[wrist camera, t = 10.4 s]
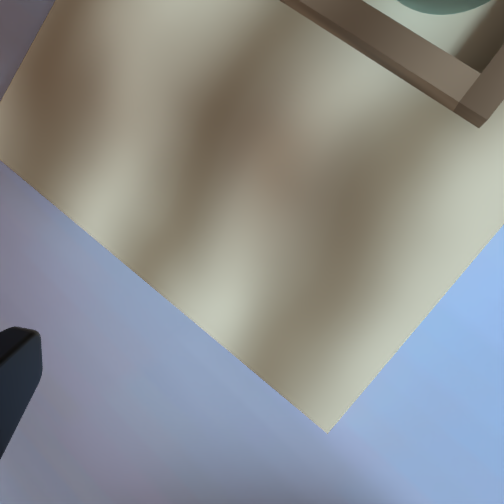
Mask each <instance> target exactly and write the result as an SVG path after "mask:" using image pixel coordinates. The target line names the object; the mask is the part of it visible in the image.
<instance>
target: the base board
mask: <svg viewBox="0 0 504 504" xmlns="http://www.w3.org/2000/svg"><path fill="white" fill-rule="evenodd" d="M0 160H1V161H2V162H3V163H4V164H6V165H7V166H8V167H9V168H10V169H12V170H13V171H14V172H15V173H16V174H18V175H19V176H20V177H21V178H22V179H23V180H25V181H26V182H27V183H28V184H29V185H31V186H32V187H33V188H34V189H35V190H37V191H38V192H39V193H40V194H41V195H43V196H44V197H45V198H46V199H47V200H49V201H50V202H51V203H52V204H53V205H55V206H56V207H57V208H58V209H59V210H61V211H62V212H63V213H64V214H65V215H67V216H68V217H69V218H70V219H71V220H73V221H74V222H75V223H76V224H77V225H78V226H80V227H81V228H82V229H83V230H84V231H86V232H87V233H88V234H89V235H90V236H92V237H93V238H94V239H95V240H96V241H98V242H99V243H100V244H101V245H102V246H104V247H105V248H106V249H107V250H108V251H110V252H111V253H112V254H113V255H114V256H116V257H117V258H118V259H119V260H120V261H122V262H123V263H124V264H125V265H126V266H128V267H129V268H130V269H131V270H132V271H133V272H135V273H136V274H137V275H138V276H139V277H141V278H142V279H143V280H144V281H145V282H147V283H148V284H149V285H150V286H151V287H153V288H154V289H155V290H156V291H157V292H159V293H160V294H161V295H162V296H163V297H165V298H166V299H167V300H168V301H169V302H171V303H172V304H173V305H174V306H175V307H177V308H178V309H179V310H180V311H181V312H183V313H184V314H185V315H186V316H187V317H188V318H190V319H191V320H192V321H193V322H194V323H196V324H197V325H198V326H199V327H200V328H202V329H203V330H204V331H205V332H206V333H208V334H209V335H210V336H211V337H212V338H214V339H215V340H216V341H217V342H218V343H220V344H221V345H222V346H223V347H224V348H226V349H227V350H228V351H229V352H230V353H232V354H233V355H234V356H235V357H236V358H238V359H239V360H240V361H241V362H242V363H243V364H245V365H246V366H247V367H248V368H249V369H251V370H252V371H253V372H254V373H255V374H257V375H258V376H259V377H260V378H261V379H263V380H264V381H265V382H266V383H267V384H269V385H270V386H271V387H272V388H273V389H275V390H276V391H277V392H278V393H279V394H281V395H282V396H283V397H284V398H285V399H287V400H288V401H289V402H290V403H291V404H293V405H294V406H295V407H296V408H297V409H298V410H300V411H301V412H302V413H303V414H304V415H306V416H307V417H308V418H309V419H310V420H312V421H313V422H314V423H315V424H316V425H318V426H319V427H320V428H321V429H322V430H324V431H325V432H326V433H327V434H328V433H329V431H330V430H331V429H332V428H333V427H334V425H335V424H336V423H337V422H338V421H339V420H340V418H341V417H342V416H343V415H344V414H345V412H346V411H347V410H348V409H349V408H350V406H351V405H352V404H353V403H354V402H355V401H356V399H357V398H358V397H359V396H360V395H361V393H362V392H363V391H364V390H365V389H366V387H367V386H368V385H369V384H370V383H371V381H372V380H373V379H374V378H375V377H376V376H377V374H378V373H379V372H380V371H381V370H382V368H383V367H384V366H385V365H386V364H387V362H388V361H389V360H390V359H391V358H392V357H393V355H394V354H395V353H396V352H397V351H398V349H399V348H400V347H401V346H402V345H403V343H404V342H405V341H406V340H407V339H408V337H409V336H410V335H411V334H412V333H413V332H414V330H415V329H416V328H417V327H418V326H419V324H420V323H421V322H422V321H423V320H424V318H425V317H426V316H427V315H428V314H429V313H430V311H431V310H432V309H433V308H434V307H435V305H436V304H437V303H438V302H439V301H440V299H441V298H442V297H443V296H444V295H445V293H446V292H447V291H448V290H449V289H450V288H451V286H452V285H453V284H454V283H455V282H456V280H457V279H458V278H459V277H460V276H461V274H462V273H463V272H464V271H465V270H466V269H467V267H468V266H469V265H470V264H471V263H472V261H473V260H474V259H475V258H476V257H477V255H478V254H479V253H480V252H481V251H482V250H483V248H484V247H485V246H486V245H487V244H488V242H489V241H490V240H491V239H492V238H493V236H494V235H495V234H496V233H497V232H498V230H499V229H500V228H501V227H502V226H503V225H504V0H491V1H489V2H487V3H486V4H483V5H481V6H479V7H477V8H475V9H472V10H468V11H465V12H461V13H456V14H448V15H433V14H427V13H422V12H419V11H416V10H413V9H411V8H409V7H407V6H404V5H403V4H401V3H400V2H399V1H397V0H55V2H54V4H53V6H52V8H51V10H50V11H49V13H48V15H47V17H46V19H45V21H44V22H43V24H42V26H41V28H40V30H39V32H38V33H37V35H36V37H35V39H34V41H33V43H32V44H31V46H30V48H29V50H28V52H27V54H26V55H25V57H24V59H23V61H22V63H21V65H20V67H19V68H18V70H17V72H16V74H15V76H14V78H13V79H12V81H11V83H10V85H9V87H8V89H7V90H6V92H5V94H4V96H3V98H2V100H1V101H0Z"/></svg>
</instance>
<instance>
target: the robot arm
mask: <svg viewBox="0 0 504 504" xmlns="http://www.w3.org/2000/svg"><path fill="white" fill-rule="evenodd" d="M41 375H42V349H41V337H40V334H39V333H38V332H37V331H36V330H32V329H27V328H22V327H11V328H8V329H6V330H4V331H1V332H0V459H1V457H2V455H3V453H4V451H5V449H6V447H7V445H8V443H9V441H10V439H11V437H12V435H13V433H14V431H15V429H16V427H17V425H18V423H19V421H20V419H21V417H22V415H23V413H24V411H25V409H26V407H27V405H28V403H29V401H30V400H31V398H32V396H33V394H34V392H35V390H36V388H37V386H38V384H39V381H40V378H41Z"/></svg>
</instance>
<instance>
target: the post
mask: <svg viewBox="0 0 504 504" xmlns="http://www.w3.org/2000/svg"><path fill="white" fill-rule="evenodd" d="M397 1H399V2H400V3H401V4H403V5H404V6H407V7H409V8H411V9H413V10H416V11H419V12H422V13H427V14H433V15H448V14H456V13H461V12H465V11H468V10H472V9H475V8H477V7H479V6H481V5H483V4H486V3H487V2H489V1H491V0H397Z"/></svg>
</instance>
